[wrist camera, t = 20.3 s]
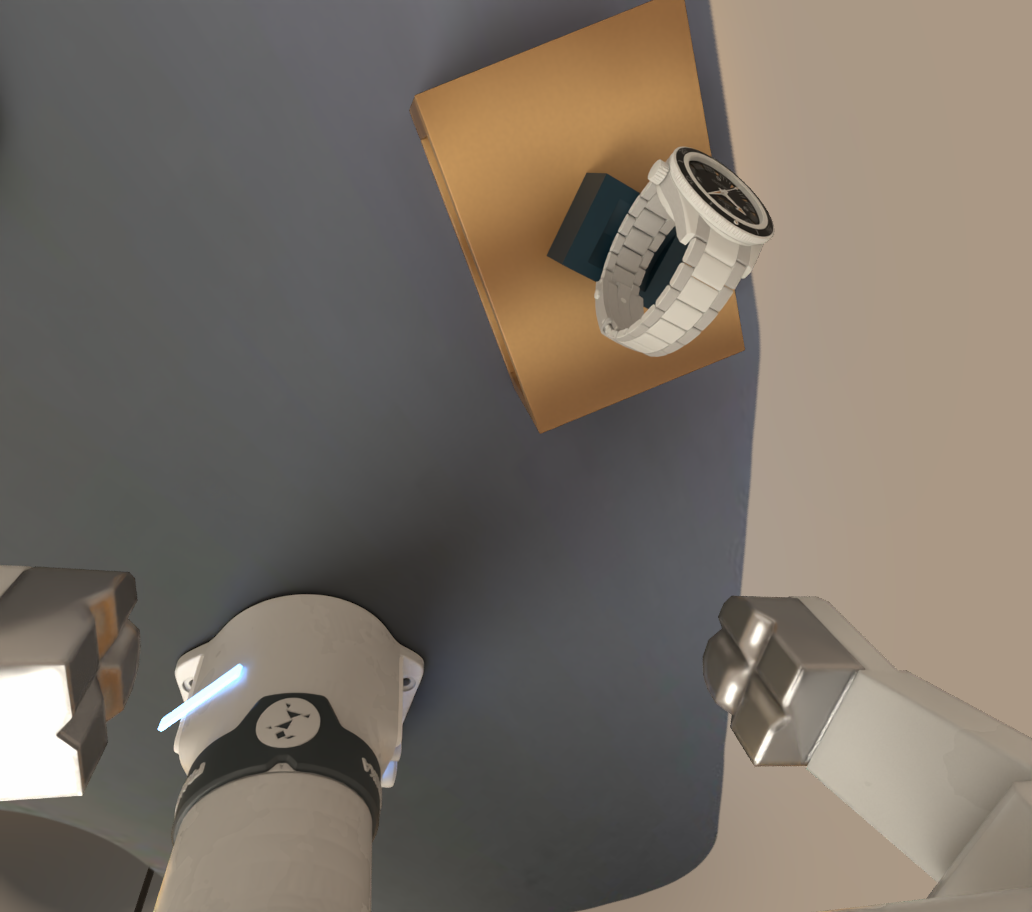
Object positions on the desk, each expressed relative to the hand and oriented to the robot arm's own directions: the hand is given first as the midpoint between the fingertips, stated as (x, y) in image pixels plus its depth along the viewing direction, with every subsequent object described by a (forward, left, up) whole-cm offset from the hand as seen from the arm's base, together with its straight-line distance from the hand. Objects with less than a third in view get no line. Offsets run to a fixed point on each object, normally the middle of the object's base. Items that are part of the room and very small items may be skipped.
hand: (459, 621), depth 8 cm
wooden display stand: (+4, -10, -33) cm, 35 cm away
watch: (+4, -10, -25) cm, 27 cm away
